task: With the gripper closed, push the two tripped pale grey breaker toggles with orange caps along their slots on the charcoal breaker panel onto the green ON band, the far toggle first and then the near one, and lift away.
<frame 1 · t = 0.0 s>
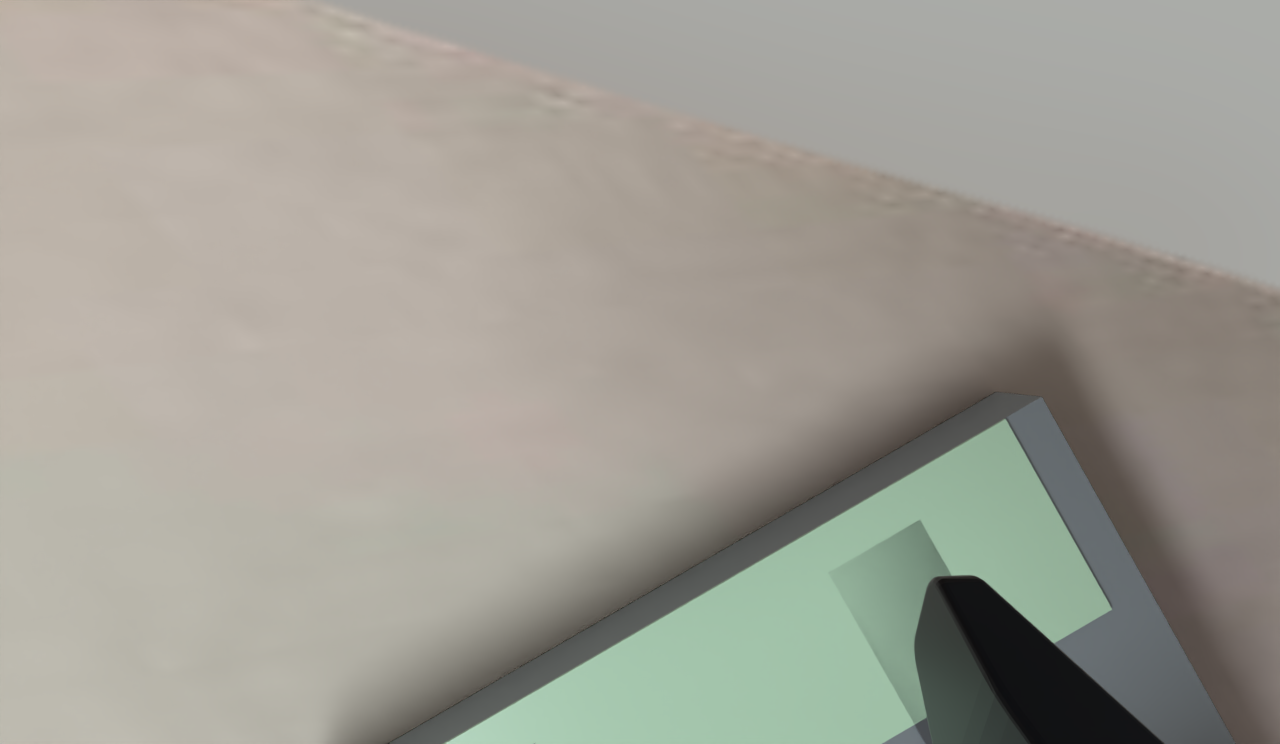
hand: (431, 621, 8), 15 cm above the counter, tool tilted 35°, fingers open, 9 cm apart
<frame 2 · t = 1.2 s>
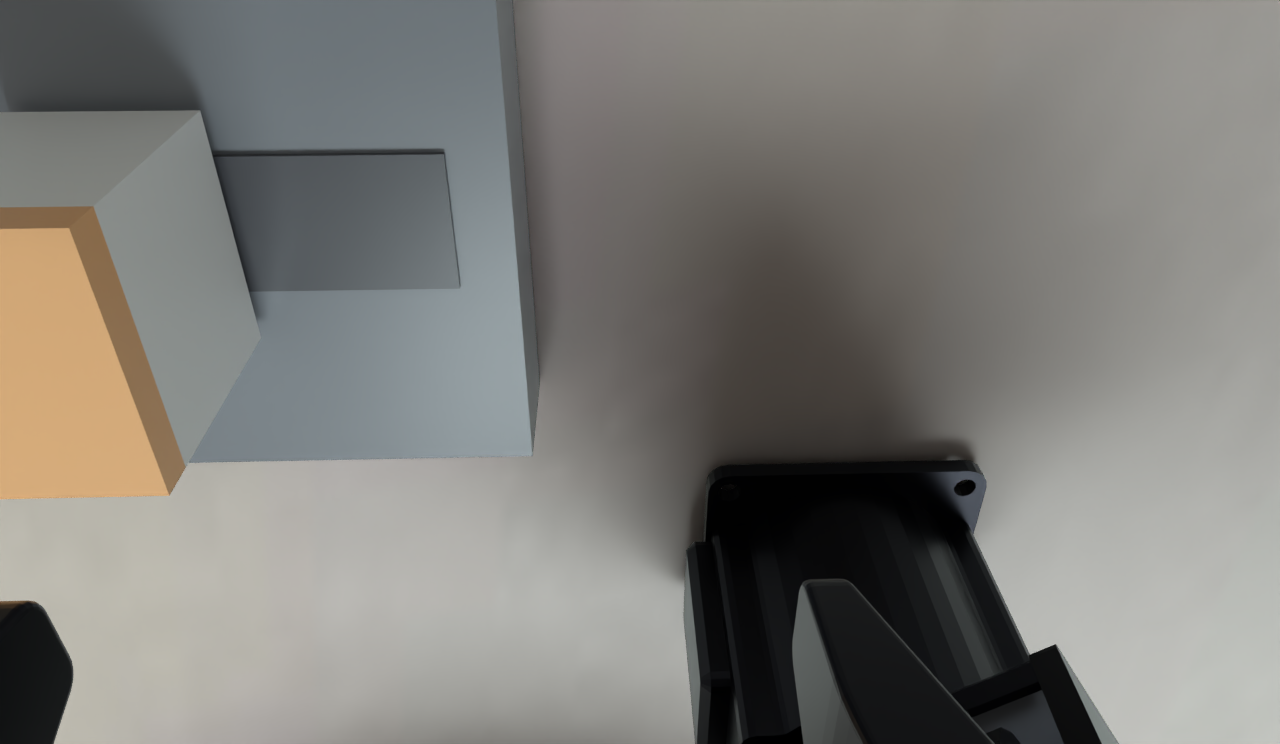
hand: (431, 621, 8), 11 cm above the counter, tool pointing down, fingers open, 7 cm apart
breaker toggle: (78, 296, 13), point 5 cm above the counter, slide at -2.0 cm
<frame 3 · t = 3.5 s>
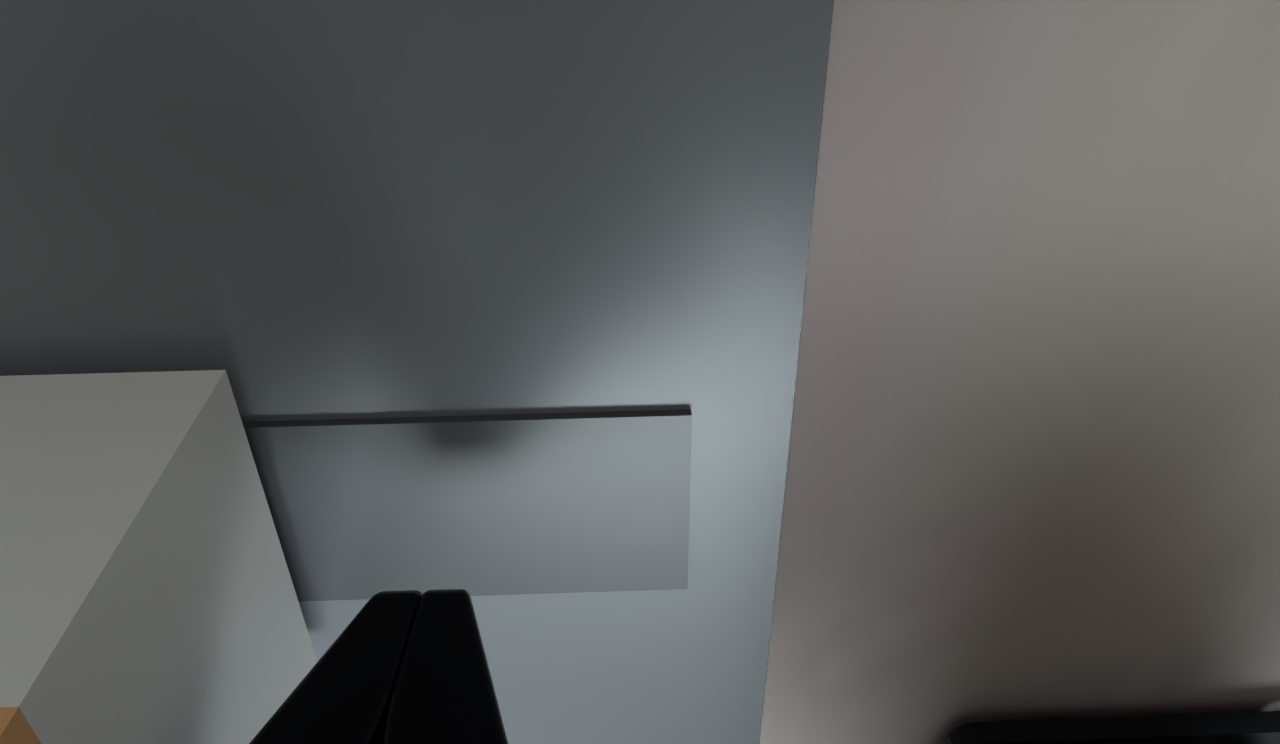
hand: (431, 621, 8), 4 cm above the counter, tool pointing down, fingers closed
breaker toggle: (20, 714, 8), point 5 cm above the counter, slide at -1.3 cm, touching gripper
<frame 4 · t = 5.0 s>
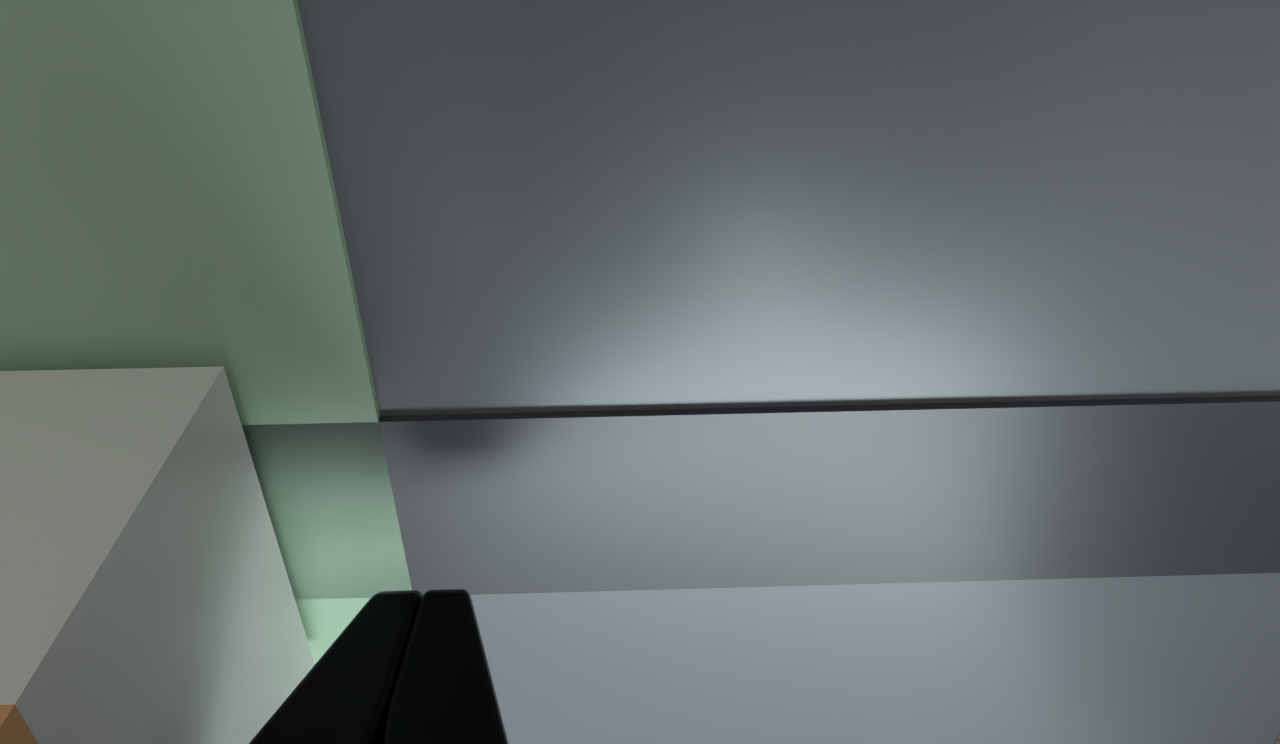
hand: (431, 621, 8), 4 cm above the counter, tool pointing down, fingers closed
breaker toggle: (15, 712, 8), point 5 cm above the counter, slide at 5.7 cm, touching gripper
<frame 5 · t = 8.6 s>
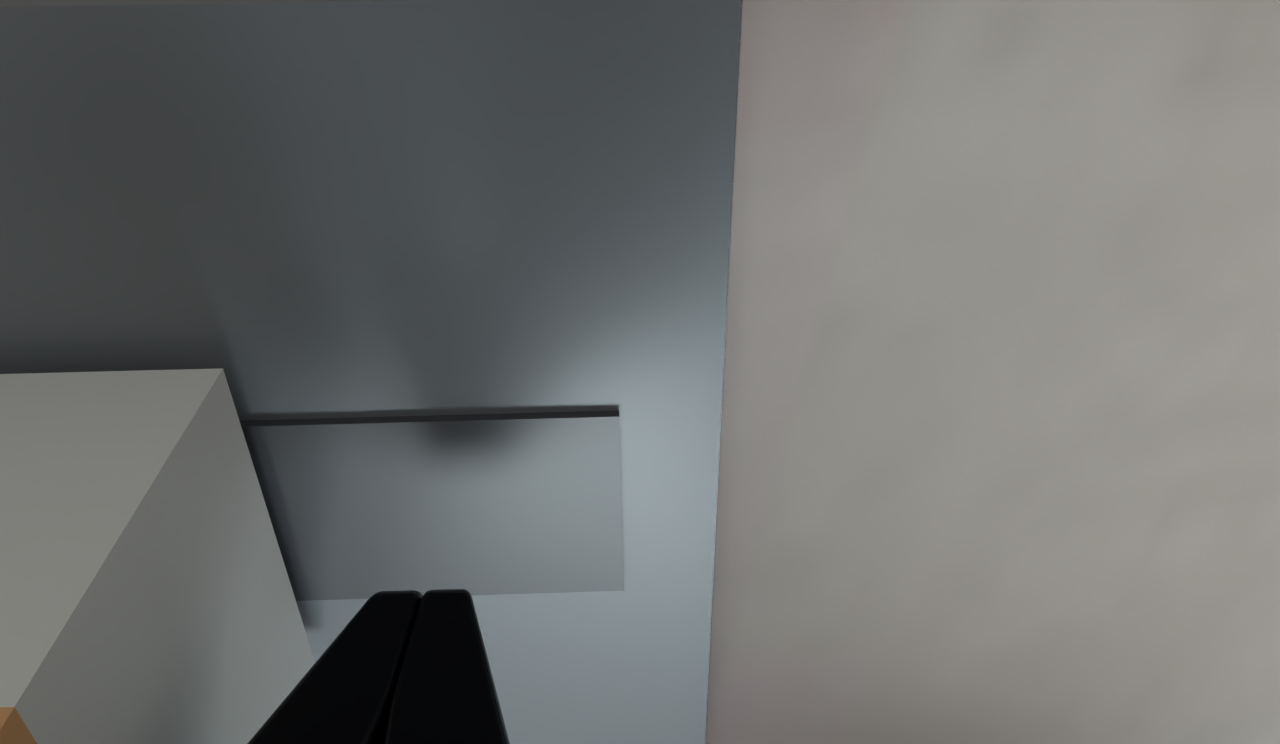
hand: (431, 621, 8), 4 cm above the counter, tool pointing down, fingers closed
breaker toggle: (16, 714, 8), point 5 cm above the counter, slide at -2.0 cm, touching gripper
breaker panel: (174, 649, 14), on the counter
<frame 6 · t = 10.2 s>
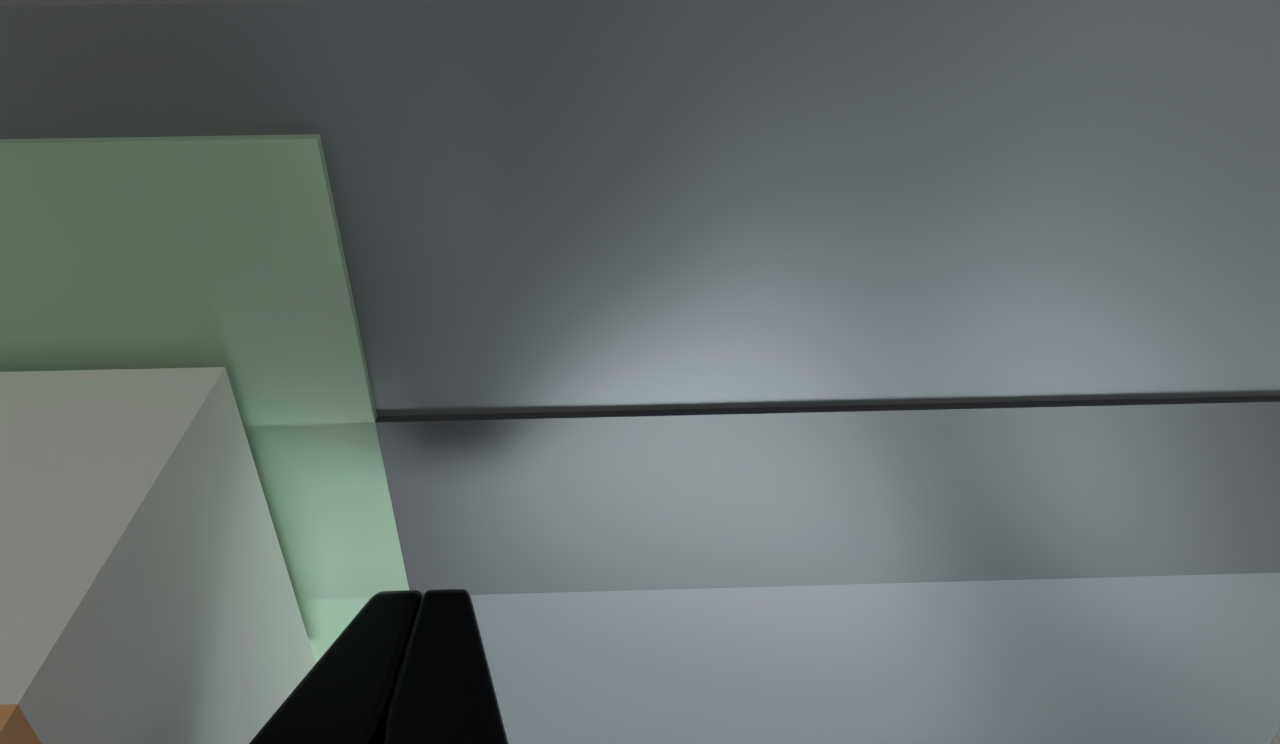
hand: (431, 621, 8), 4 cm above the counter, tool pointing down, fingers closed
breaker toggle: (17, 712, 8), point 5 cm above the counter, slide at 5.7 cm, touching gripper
breaker panel: (665, 633, 15), on the counter
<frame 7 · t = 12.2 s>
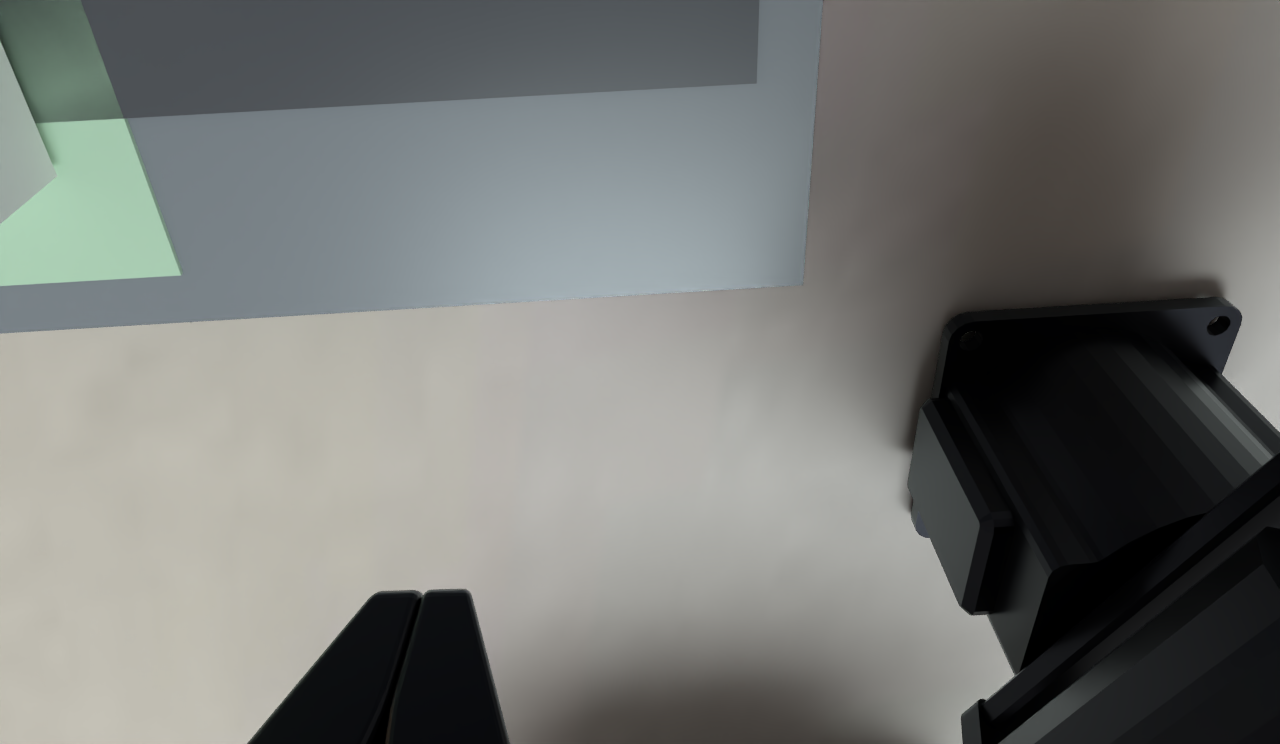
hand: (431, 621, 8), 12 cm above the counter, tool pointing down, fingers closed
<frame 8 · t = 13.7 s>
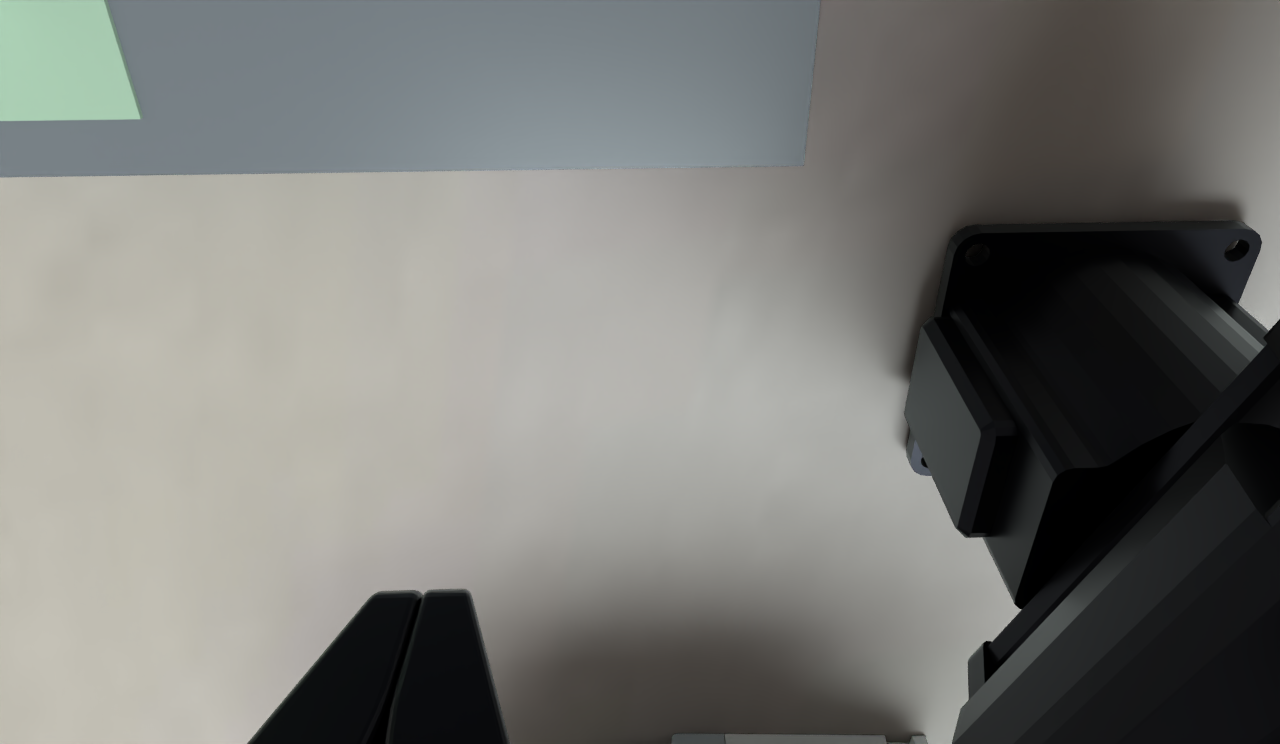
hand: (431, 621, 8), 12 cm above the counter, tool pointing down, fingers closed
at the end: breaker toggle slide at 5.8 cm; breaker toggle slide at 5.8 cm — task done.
